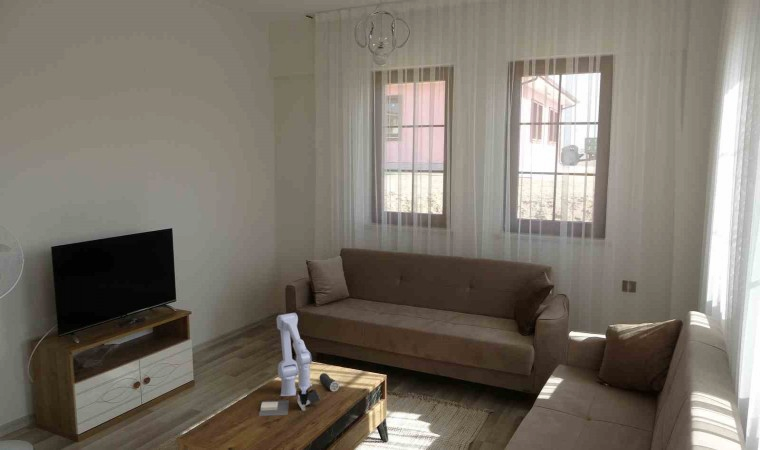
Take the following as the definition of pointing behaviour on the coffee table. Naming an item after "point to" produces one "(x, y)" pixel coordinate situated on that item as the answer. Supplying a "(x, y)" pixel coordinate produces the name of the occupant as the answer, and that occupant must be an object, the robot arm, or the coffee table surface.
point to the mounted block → (309, 398)
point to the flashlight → (329, 382)
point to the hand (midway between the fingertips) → (304, 401)
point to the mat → (280, 410)
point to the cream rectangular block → (269, 406)
